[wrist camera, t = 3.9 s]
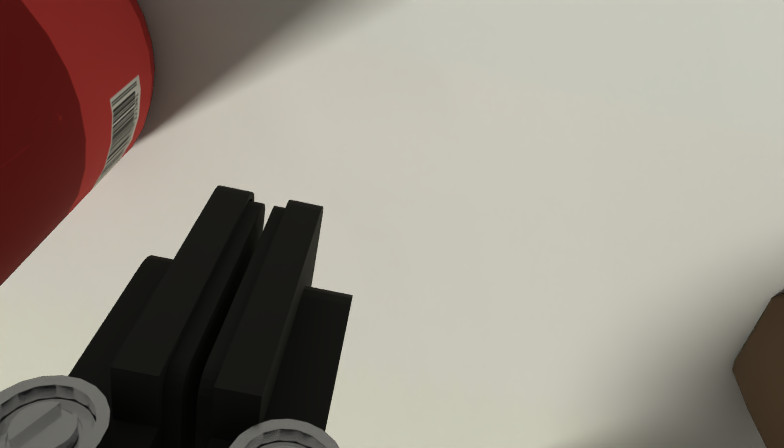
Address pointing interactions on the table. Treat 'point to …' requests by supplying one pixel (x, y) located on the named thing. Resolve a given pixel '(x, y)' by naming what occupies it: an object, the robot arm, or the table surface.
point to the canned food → (65, 108)
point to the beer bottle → (765, 373)
